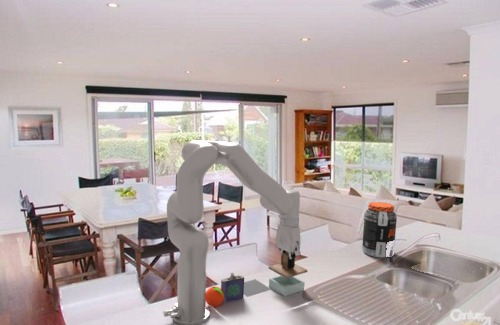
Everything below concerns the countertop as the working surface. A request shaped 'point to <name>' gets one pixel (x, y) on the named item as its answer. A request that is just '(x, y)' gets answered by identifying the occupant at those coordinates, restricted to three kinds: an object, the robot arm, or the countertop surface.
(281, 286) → the dish
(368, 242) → the supplement tub
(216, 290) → the clementine
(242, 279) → the flask
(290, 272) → the lid
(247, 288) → the mat
